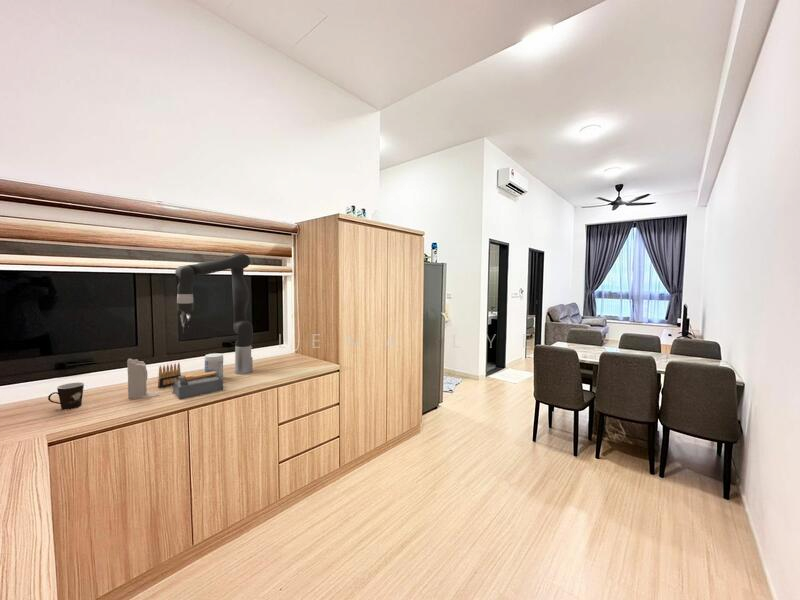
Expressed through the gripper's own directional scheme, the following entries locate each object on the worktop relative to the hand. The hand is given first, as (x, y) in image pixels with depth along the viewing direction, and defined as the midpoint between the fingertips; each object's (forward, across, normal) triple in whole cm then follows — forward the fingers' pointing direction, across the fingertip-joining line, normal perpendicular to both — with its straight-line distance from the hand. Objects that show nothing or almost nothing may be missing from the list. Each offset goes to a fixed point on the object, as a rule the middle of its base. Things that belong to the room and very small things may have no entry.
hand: (185, 333), depth 181 cm
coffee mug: (+29, -3, +47) cm, 55 cm away
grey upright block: (+29, -7, +19) cm, 36 cm away
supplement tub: (+29, 0, -14) cm, 32 cm away
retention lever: (+21, -16, -3) cm, 27 cm away
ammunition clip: (+29, +4, +7) cm, 30 cm away
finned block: (+29, -16, -2) cm, 33 cm away
